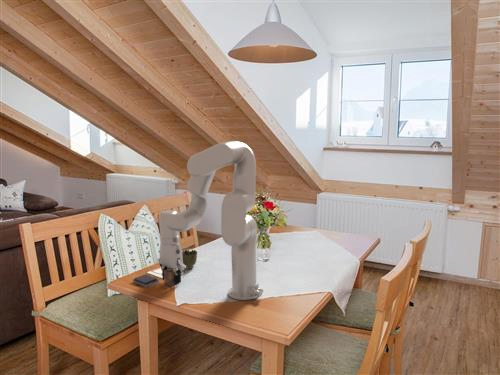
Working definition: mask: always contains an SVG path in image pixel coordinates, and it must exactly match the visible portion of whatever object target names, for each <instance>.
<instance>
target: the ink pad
mask: <svg viewBox="0 0 500 375" xmlns="http://www.w3.org/2000/svg"><path fill="white" fill-rule="evenodd" d="M132 283H133V284H136V285H138V286H140V287H143V288H148V287H151V286H153V285H155V284H158V283H160V279H158V277H156V276H153V275H150V274H148V273H147V274H142V275H139V276H137V277H134V278H133V279H132Z"/></svg>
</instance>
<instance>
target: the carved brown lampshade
mask: <svg viewBox="0 0 500 375" xmlns="http://www.w3.org/2000/svg"><path fill="white" fill-rule="evenodd" d="M182 256H183V265H184V267H185V269H186V270H192V269H194V266H195V265H196V263H197V259H198V251H197V250H196V249H191V251H190V250H189V249H184V250H182Z"/></svg>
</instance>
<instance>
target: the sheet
mask: <svg viewBox="0 0 500 375" xmlns="http://www.w3.org/2000/svg"><path fill="white" fill-rule="evenodd" d="M146 273H147V275H150V276H153V277H155V278H159V279H162V280H163V277H162V270H161V267H159V268H158V267H157V268H156V269H155V268H154V269H152V270H150V271H147V272H146ZM184 274H185V273H184V272H183V271H182V273H181V276H182V275H184Z"/></svg>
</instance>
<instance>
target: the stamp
mask: <svg viewBox="0 0 500 375" xmlns="http://www.w3.org/2000/svg"><path fill="white" fill-rule="evenodd" d="M176 271H178V269H176ZM174 275H175V273H174V270H173V269H172V268H169V267H168V269H167V270H164V280H163V281H164V282H163V283H164V285H165V286H168V287H174V286H176V285H179V284H180V283H178V284H174Z"/></svg>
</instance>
